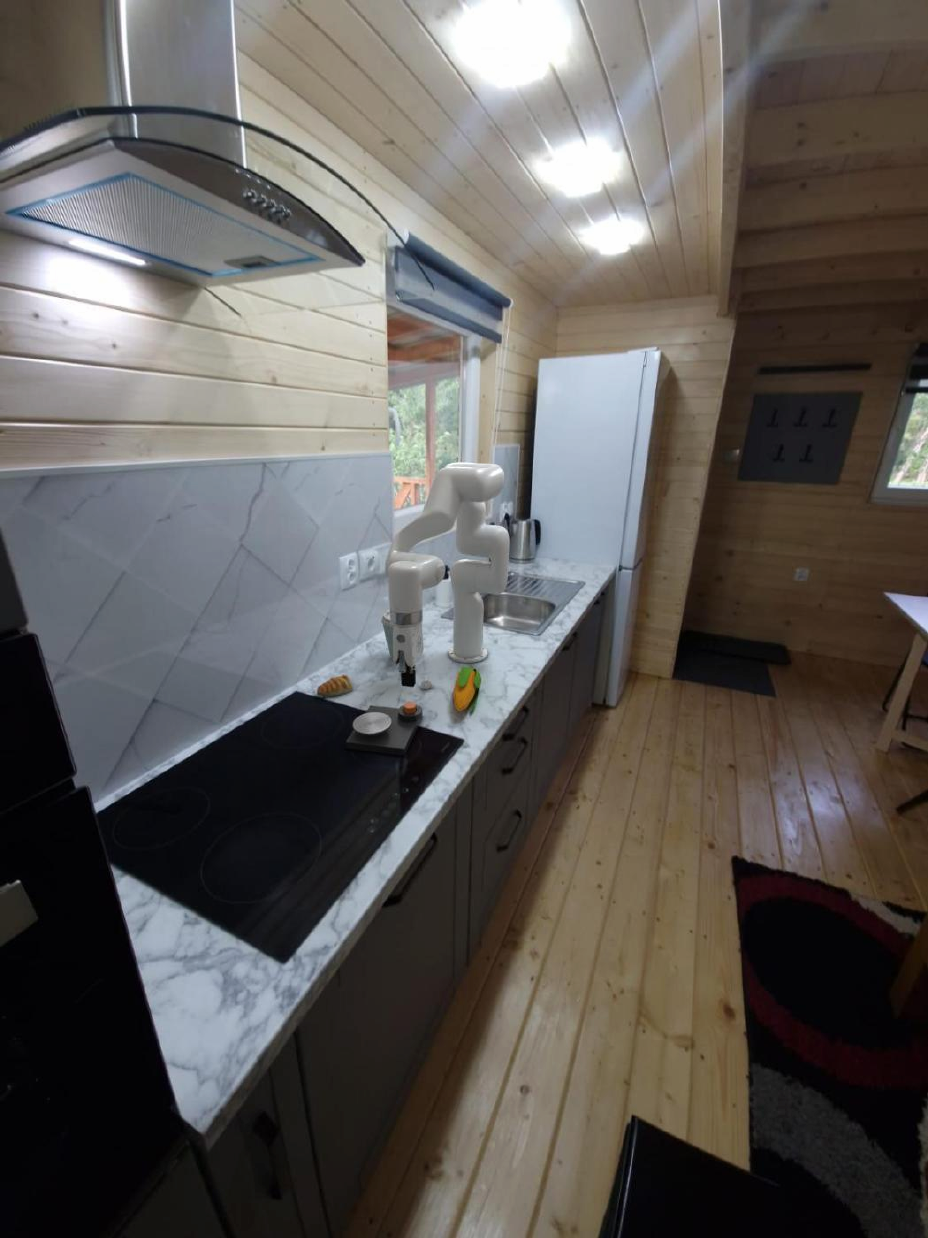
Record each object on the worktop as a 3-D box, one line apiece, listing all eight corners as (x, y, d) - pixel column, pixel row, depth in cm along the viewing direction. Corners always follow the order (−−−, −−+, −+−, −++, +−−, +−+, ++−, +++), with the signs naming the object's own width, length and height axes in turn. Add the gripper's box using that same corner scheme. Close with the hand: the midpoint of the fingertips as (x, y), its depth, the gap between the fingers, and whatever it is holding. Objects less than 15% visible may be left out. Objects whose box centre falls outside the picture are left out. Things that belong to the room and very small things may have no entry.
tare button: (406, 707, 125) (405, 701, 125) (417, 708, 125) (417, 702, 124) (402, 713, 123) (402, 707, 122) (414, 715, 122) (414, 708, 122)
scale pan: (361, 712, 122) (361, 710, 122) (396, 716, 121) (396, 714, 121) (346, 733, 114) (346, 731, 114) (384, 738, 113) (383, 735, 112)
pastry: (323, 701, 133) (322, 689, 132) (313, 692, 138) (311, 679, 137) (355, 690, 139) (353, 678, 137) (344, 681, 144) (343, 670, 142)
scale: (371, 710, 130) (370, 698, 128) (424, 716, 127) (424, 704, 126) (346, 748, 115) (345, 736, 113) (406, 756, 112) (405, 743, 111)
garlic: (433, 684, 143) (433, 676, 142) (429, 691, 139) (429, 683, 138) (422, 683, 143) (422, 675, 142) (418, 690, 140) (418, 681, 139)
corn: (482, 659, 140) (474, 695, 122) (483, 683, 143) (476, 722, 125) (456, 659, 141) (445, 695, 123) (458, 682, 144) (447, 721, 126)
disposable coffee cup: (421, 651, 162) (420, 609, 157) (410, 666, 153) (408, 621, 147) (391, 648, 165) (389, 605, 159) (378, 662, 155) (375, 618, 149)
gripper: (413, 628, 107) (415, 702, 113) (430, 605, 120) (431, 672, 127) (379, 626, 108) (383, 699, 115) (400, 603, 121) (403, 669, 128)
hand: (408, 685), depth 121 cm, fingers closed
